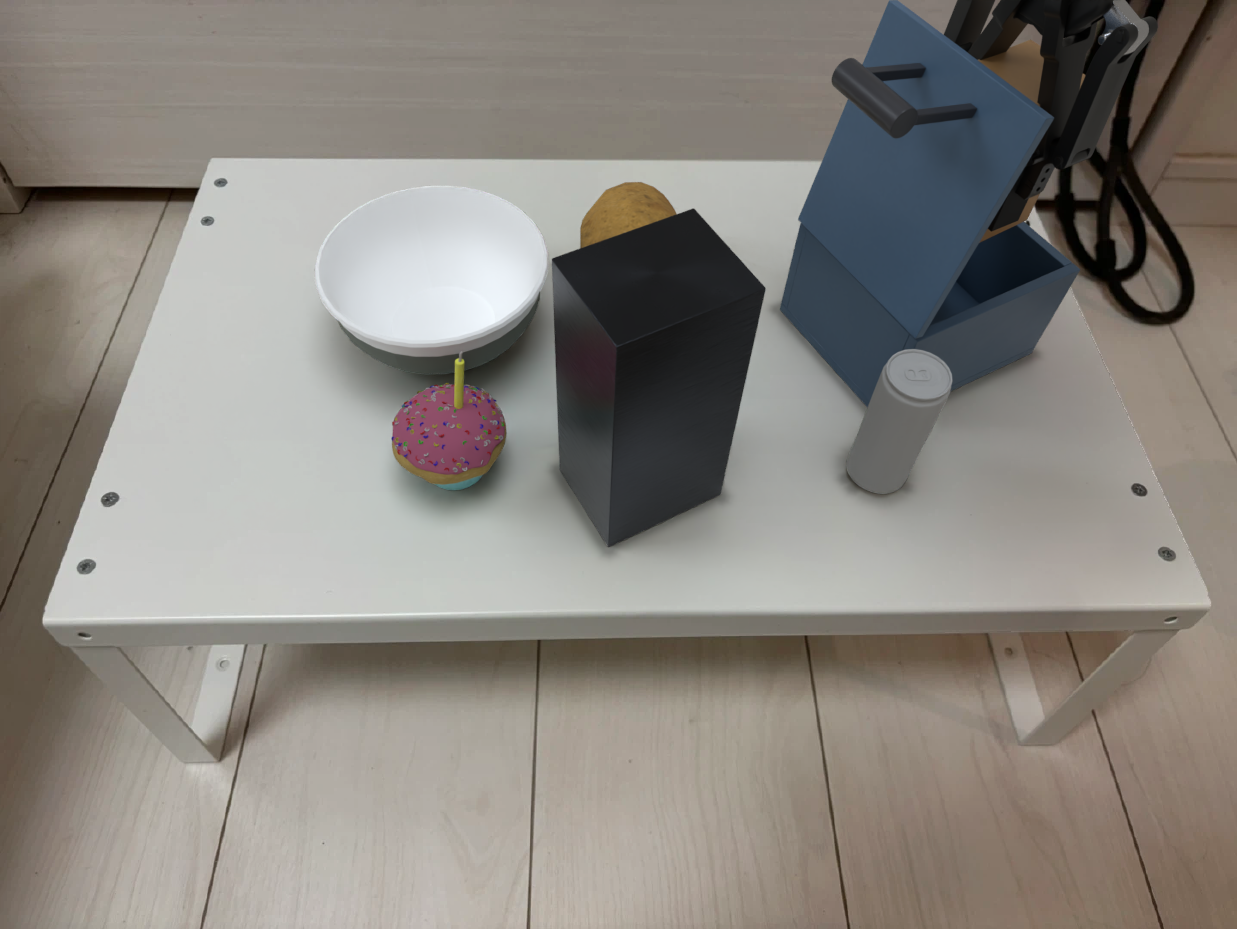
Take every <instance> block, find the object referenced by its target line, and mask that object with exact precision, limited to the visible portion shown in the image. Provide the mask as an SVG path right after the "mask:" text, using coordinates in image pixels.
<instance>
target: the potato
mask: <svg viewBox="0 0 1237 929" xmlns="http://www.w3.org/2000/svg"><path fill="white" fill-rule="evenodd" d="M676 214H677V212H676V209H675V208H674V206H673V204H672V203H671V202H670V201H669V199H668V198H667V197H666V196H665V194H663V192H661V191H660V190H659V189H657V188H656V187H654V186H653V185H650V184H648V183H645V182H642V181H631V182H630V181H625V182H622V183H619V184H617V185H615V186H612V187H610V188H607V189H605V190H604V191H603V193H602V194H601V195H600V196H599V197H598V198H597V200H596V201H595V202H594V204H593V205H591V207H590V208H589V210H588V211H587V212H586V213H585V215H584V216H583V218H582V220H581V225H580V228H579V229H580V230H579V233H580V236H579V237H580V239H579V240H580V241H579V245H580V246H579V249H580V248H583V247H586V246H588V245H591V244H594V243H597V242H600V241H603V240H605V239H608V238H611V237H614V236H617V235H619V234H622V233H625V232H628V231H631V230H634V229H636V228H639V227H642V226H645V225H648V224H651V223H653V222H656V221H659V220H662V219H665V218H667V217H670V216H673V215H676Z"/></svg>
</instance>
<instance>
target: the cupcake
mask: <svg viewBox="0 0 1237 929" xmlns="http://www.w3.org/2000/svg"><path fill="white" fill-rule="evenodd" d="M462 354H463V351H460V354H459V358H458V359H456V360H455V372H454V383H453V384H450V383H449V382H446V383H444V384H440V385H438V384H434V385H431V386H429V387H425V389H422V390H418V391H417V392H416V393H417V394H416V395H414V396H412V397H411V398H410V399H409V400H406V401H404V402H403V404H402V405H401V408H400V410H398V412H397V413H396V414H395V416H394V418H393V421H391V425H392V433H391V435H392V436H391V450H392V454H393V457H394V459H395V460H396V462H397V463H398V464H399V466H401V467H402V468H403V469H405V470H406V471H407V472H408V473H409V474H412V475H413V476H416V477H419V478H420V479H423V480H424V481H426V482H427V483H429V484H432V485H435V486H436V487H438V488H440V489H443V490H448V491H460V490H464V489H467V488H470V487H472V486H473V485H475V484H476V483H478V482H479V481H480V480H481V479H482V478H483V476H484V475H485V474H487V473H488V472H489V471H490V469H491V468H492V466H493V465H494V464H495V462H496V461H497V459H498V458H499V457H500V455H501V453H502V452H503V449H504V447H505V445H506V440H507V424H506V419H505V417H504V415H503V410H501V407H500V406H499V405H498V404H497V400H496V399H494V398H493V397H492V395H491V394H490V393H488V392H487V391H486V390H485V389H484V388H482V387H481V388H479V387H477V386H474V385H470V384H465V371H464V360H463V359H462Z"/></svg>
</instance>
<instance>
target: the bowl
mask: <svg viewBox="0 0 1237 929" xmlns="http://www.w3.org/2000/svg"><path fill="white" fill-rule="evenodd" d="M549 256H550V254H549V250H548V246H547V242H546V239H545V237H544V235H543V233H542V232H541V230H540V228H539V227H538V225H537V224H536V223H535V222H534V221H533V219H531V217H530V216H529V215H528V214H527V213H526V212H524V211H523V210H522V209H521V208H520V207H518V206H517V205H515V204H513V203H512V202H510V201H509V200H506V199H504V198H503V197H500V196H498V195H495V194H493V193H491V192H487V191H483V190H480V189H476V188H472V187H465V186H458V185H457V186H456V185H425V186H424V185H423V186H416V187H408V188H403V189H401V190H397V191H392V192H389V193H386V194H384V195H381V196H378V197H376V198H374V199H371V200H369V201H367V202H365V203H364V204H362V205H360V206H358V207H357V208H355V209H353V210H352V211H350V212H349V213H348V214H346V215H345V216H344V217H343V218H342V219H341V220H339V221H338V222H337V223H336V224H335V226H334V227H333V228H332V229H331V230H330V232H328V234H327V235H326V237H325V238H324V240H323V243H321V246H320V248H319V250H318V252H317V255H316V260H315V264H314V269H313V272H314V286H315V288H316V292H317V294H318V297H319V299H320V301H321V303H322V304H323V306H324V307H325V309H327V310H326V311H328V312H329V314H330V315H331V316H332V317H333V318H334V319H335V320H337V322H338V325H339V327H340V329H341V330H342V331H343V333H344V334H345V335H346V336H347V339H348V340H349V341H350V342H351V343H352V344H354V345H355V347H357V348H358V349H360V350H361V351H362V352H363V353H365V354H366V355H367V356H369V357H371V358H372V359H374V360H376V361H378V362H379V363H381V364H383V365H385V366H386V367H389V368H393V369H396V370H399V371H402V372H405V373H412V374H418V375H446V374H455V360H456V359H458V358H459V354H460V351H463V354H462V359H463V360H464V372H466V371H467V370H471V369H474V368H477V367H480V366H483V365H485V364H487V363H488V362H490V361H493V360H495V359H497V358H498V357H499V356H500V355H502V354H504V353H505V352H506V351H508V350H509V349H510V348H511V347H512V346H513V345H514V344H515V343H516V342H517V341H518V340H519V339H520V337H521V336H522V335H523V334H524V332H525V331H526V330H527V329H528V327H529V325H530V324H531V323H532V321H533V319H534V317H535V315H536V313H537V310H538V307H539V303H540V300H541V291H542V289H543V287H544V285H545V283H546V280H547V276H548V273H549V269H550V268H549V266H550V264H549V263H550V262H549Z"/></svg>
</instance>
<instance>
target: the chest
mask: <svg viewBox="0 0 1237 929" xmlns="http://www.w3.org/2000/svg"><path fill="white" fill-rule="evenodd" d="M1080 272H1081V268H1080V267H1079V266H1077V264H1075V263H1073V262H1072V261H1071V260H1070V259H1069V258H1067V257H1066V255H1064V254H1063V253H1062V252H1060V251H1059V249H1057V248H1056V247H1054V246H1053V245H1052V243H1050V242H1049V241H1048V240H1046V239H1045V238H1044V237H1043V236H1042V235H1041V234H1039V232H1037V231H1036V230H1034V228H1032V227H1031V226H1030V225H1029V224H1027V223H1026V221H1024V222H1022V223H1020V224H1018V225H1016V226H1013V227H1011V228H1009V229H1007V230H1005V231H1003V232H1001V233H999V234H997V235H995V236H992V237H990V238H988V239H986V240H984V241H982V242H980V243H979V244H978V246H977V247H976V249H975V250H974V252H973V254H972V255H971V257H970V259H969V260H968V262H967V264H966V265H965V267H964V269H963V270H962V272H961V274H960V275H959V277H958V279H957V280H956V282H955V284H954V285H953V287H952V289H951V290H950V292H949V294H948V295H947V297H946V299H945V300H944V302H943V304H942V305H941V307H940V309H939V310H938V312H937V314H936V315H935V317H934V319H933V320H932V322H931V323H930V325H929V327H928V328H927V330H926V332H925V333H924V335H923V337H919V338H916V339H915V338H914V337H913V336H912V335H911V334H910V333H909V332H908V331H907V330H906V329H905V328H904V327H903V326H902V325H901V324H900V323H899V322H898V321H897V320H896V319H895V318H894V317H893V316H892V315H891V313H890V312H889V311H888V310H887V309H886V308H885V307H884V306H883V305H882V304H881V303H880V302H879V301H878V300H877V299H876V298H875V297H874V296H873V295H872V294H871V293H870V292H869V291H868V290H867V289H866V288H865V287H864V286H863V285H862V284H861V283H860V282H859V281H858V280H857V279H856V278H855V277H854V276H853V275H852V274H851V273H850V272H849V271H848V270H847V269H846V268H845V267H844V266H843V265H842V264H841V263H840V262H839V261H838V260H837V259H836V258H835V257H834V256H833V255H832V254H831V253H830V252H829V251H828V250H827V249H826V247H825V246H824V245H823V244H822V243H821V242H820V241H819V240H818V239H817V238H816V237H815V236H814V235H813V234H812V233H811V232H810V231H809V230H808V229H807V228H806V227H805V226H804V225H803V224H802V223H801V222H800V223H799V227H798V231H797V235H796V240H795V244H794V248H793V252H792V256H791V259H790V264H789V269H788V272H787V277H786V282H785V285H784V289H783V294H782V298H781V301H780V306H779V311H781V312H782V314H783V315H784V316H785V317H786V319H787V320H788V321H790V323H791V324H792V325H793V326H794V327H795V328H796V329H797V330H798V332H799V333H800V334H801V335H802V336H803V338H804V339H805V340H806V341H807V342H808V343H809V344H810V345H811V346H812V348H814V350H815V351H816V352H817V353H818V354H819V355H820V357H821V358H823V360H824V361H825V362H826V363H827V364H828V365H829V367H830V368H832V369H833V371H834V372H835V373H836V374H837V375H838V376H839V378H841V380H842V381H843V382H844V383H845V384H846V386H848V388H849V389H850V390H851V391H852V392H853V393H854V394H855V396H856V397H858V399H859V400H860V401H861V402H862V404H864V405H865V407H866V408H867V407H868V405H869V402H870V400H871V397H872V395H873V392H874V390H875V387H876V385H877V382H878V380H879V377H880V375H881V372H882V370H883V367H884V366H885V365H886V363H887V362H888V360H889V359H890V358H891V357H892V356H893V355H894V354H896V353H897V352H900V351H903V350H908V349H917V350H923V351H926V352H930V353H932V354H934V355H936V356H937V357H939V358H940V359H941V360H943V361H944V362H945V363H946V365H947V366H948V367H949V369H950V371H951V374H952V385H951V390H950V392H953V391H954V390H956V389H959V388H961V387H963V386H965V385H967V384H969V383H971V382H974V381H976V380H978V379H980V378H982V377H985V376H986V375H989V374H991V373H993V372H995V371H997V370H999V369H1001V368H1004V367H1005V366H1008V365H1009V364H1012V363H1014V362H1016V361H1018V360H1020V359H1022V358H1025V357H1027V356H1029V355H1031V354H1033V353H1034V350H1035V349H1036V346H1037V345H1038V344H1039V341H1040V340H1041V338H1042V336H1043V334H1044V332H1045V331H1046V329H1047V328H1048V326H1049V324H1050V322H1051V321H1052V319H1053V318H1054V316H1055V314H1056V312H1057V310H1059V307H1060V305H1061V304H1062V302H1063V301H1064V298H1065V297H1066V295H1067V294H1068V292H1069V290H1070V288H1071V287H1072V285H1073V284H1074V282H1075V280H1076V278H1077V276H1078V275H1079V273H1080Z"/></svg>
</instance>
